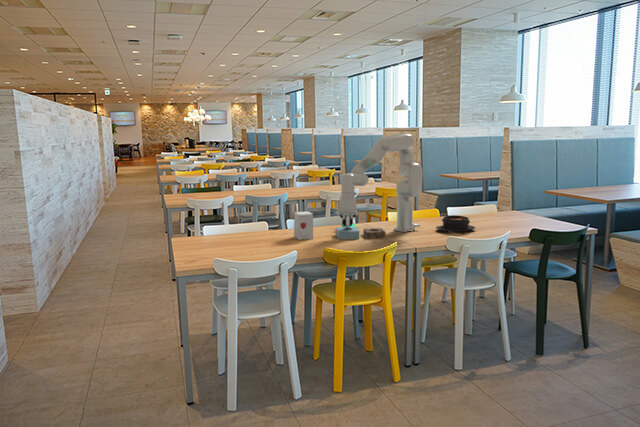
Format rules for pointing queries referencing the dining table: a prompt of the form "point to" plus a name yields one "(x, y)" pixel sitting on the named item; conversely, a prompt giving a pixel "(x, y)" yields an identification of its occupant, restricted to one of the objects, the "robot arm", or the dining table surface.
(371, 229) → the walnut mount block
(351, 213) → the robot arm
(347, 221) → the steel pin
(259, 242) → the dining table surface
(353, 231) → the socket block
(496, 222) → the dining table surface
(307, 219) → the supplement box
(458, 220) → the casserole
